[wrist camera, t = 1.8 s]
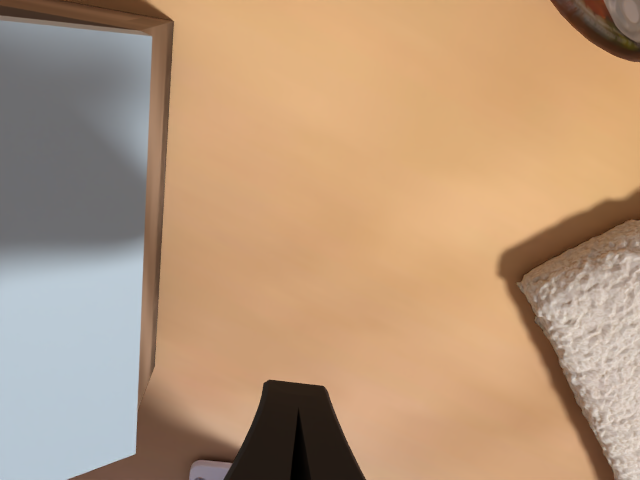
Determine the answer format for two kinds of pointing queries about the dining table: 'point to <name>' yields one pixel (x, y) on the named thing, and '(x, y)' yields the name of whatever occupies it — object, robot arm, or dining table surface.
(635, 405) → the washcloth
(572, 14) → the tin
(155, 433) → the dining table surface
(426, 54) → the dining table surface
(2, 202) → the lid
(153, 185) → the box
